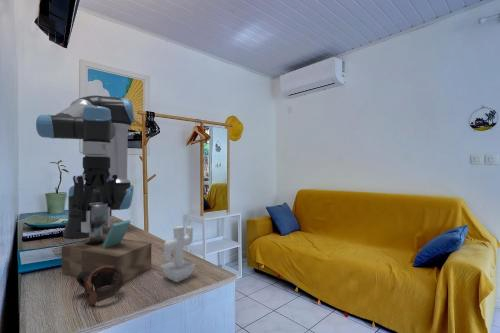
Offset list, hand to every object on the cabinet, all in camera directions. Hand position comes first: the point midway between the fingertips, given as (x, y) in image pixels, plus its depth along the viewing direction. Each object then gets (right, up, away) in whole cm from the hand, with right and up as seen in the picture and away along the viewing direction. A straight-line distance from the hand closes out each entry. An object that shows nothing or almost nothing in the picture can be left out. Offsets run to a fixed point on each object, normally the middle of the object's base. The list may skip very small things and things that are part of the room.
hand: (96, 229), depth 81 cm
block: (+4, -12, -2) cm, 13 cm away
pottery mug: (+11, -13, -16) cm, 23 cm away
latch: (+8, -1, -3) cm, 9 cm away
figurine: (+27, -13, -6) cm, 31 cm away
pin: (0, -5, 0) cm, 5 cm away
